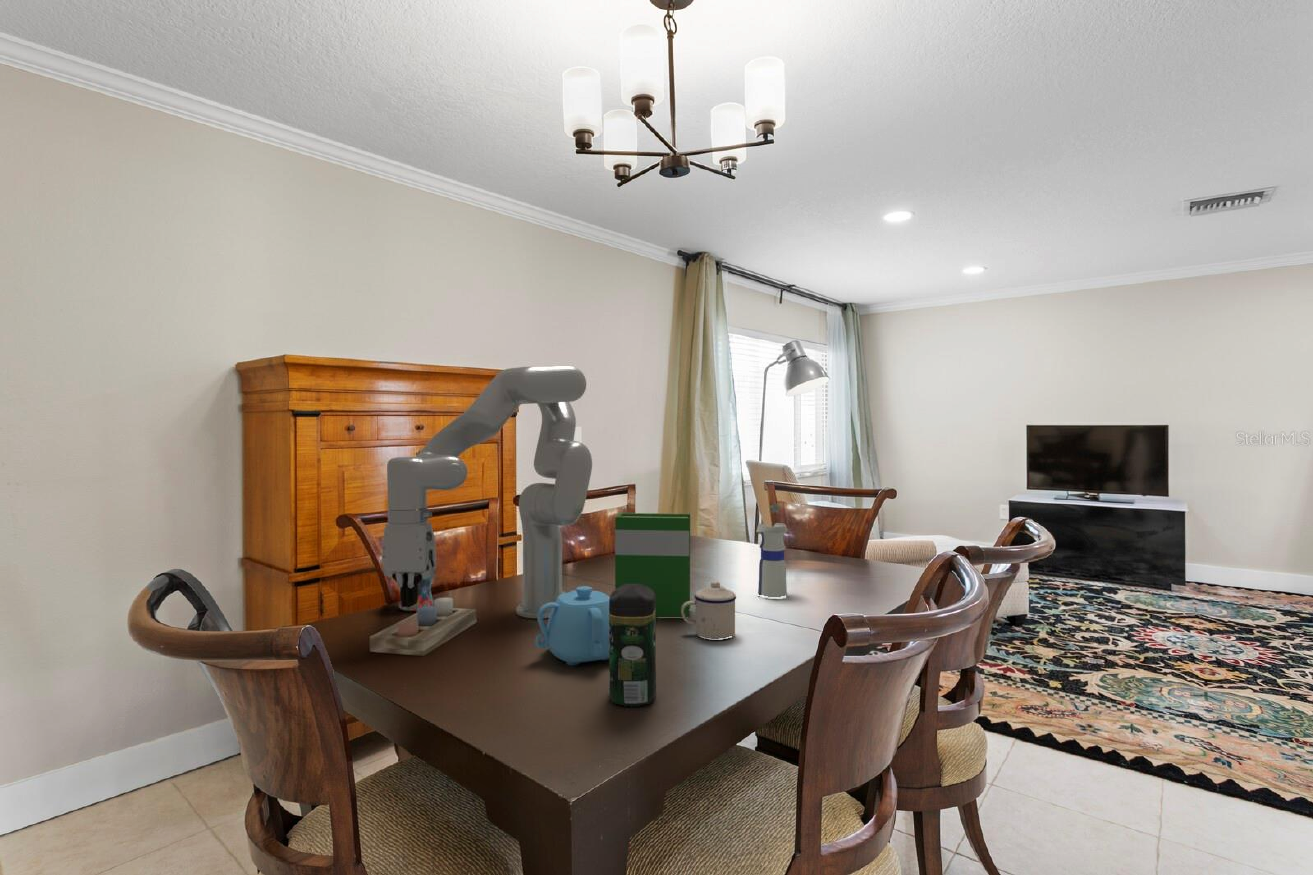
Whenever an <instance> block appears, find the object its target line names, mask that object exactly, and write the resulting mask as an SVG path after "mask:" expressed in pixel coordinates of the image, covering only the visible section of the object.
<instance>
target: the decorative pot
mask: <svg viewBox="0 0 1313 875" xmlns="http://www.w3.org/2000/svg"><path fill="white" fill-rule="evenodd" d="M609 599H610V595H608V594H606V593H604V592H602V591H598V590H593V587H591V586H588V585H581V586H577V587H575V589H574V590H570V591H569V592H566V593H564V594H561V595H560V596H558V598H557V600H556V602H555V603H554V602H550V603H547V604H545V605H543V606H542V607H541V608H540V609H539V611H538V619H537V622H538V625H539V627H540V628H539V629H540V630H541V633H539V634H538V635H536V637H535V640H534V642H535V645H536V647H537V648H540V649H545V648H548V649H549V651H550V652H551V654H552V655H553V656H554V657H556V658H557V659H559V660H561V661H564V662H565V664H566V665H568V666H577V665H579V664H580V663H586V662H593V661H594V662H595V661H607V660H606V659H609ZM549 608H553V609H552V611H551V613H550V616H549V618H547V624H546V625H545V621H544V618H543V613H544V612H545V611H546V610H547V609H549ZM541 638H543V639H544V640H543V641H540V639H541Z"/></svg>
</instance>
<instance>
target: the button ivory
mask: <svg viewBox="0 0 1313 875" xmlns="http://www.w3.org/2000/svg"><path fill="white" fill-rule="evenodd" d="M433 600H434V605H433V606H435V607H436V616H444V617H449V616H450V615H452V614H453V608H454V599H453V598H452V597H446V596H445V597H438V598H435V599H433Z"/></svg>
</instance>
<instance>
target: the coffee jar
mask: <svg viewBox="0 0 1313 875" xmlns="http://www.w3.org/2000/svg"><path fill="white" fill-rule="evenodd" d="M609 597H610V599H609V660H608V661H609V664H608V665H609V699H610V701H611V702H612V703H614V704H616V705H619V706H623V707H627V706H631V707H630V708H632V706H637V707H639V706H643V705H644V706H645V705H648V704H649V705H650V704H651V703H652V702H653V700H654V699H655V696H656V693H657V665H656V664H657V663H656V661H657V660H656V659H657V658H656V655H657V652H656V648H657V646H656V644H657V643H656V642H657V641H656V638H657V636H656V624H657V623H656V620H657V618H656V614H655V597H656V596H655V594H654V591H653V590H652V589H650V588H649V587H647V586H646V585H645V584H623V585H622V586H620V587H619V588H617V589H615V588H614V590H613V591H612V592H611V594H610V595H609Z"/></svg>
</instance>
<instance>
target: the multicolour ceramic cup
mask: <svg viewBox="0 0 1313 875" xmlns="http://www.w3.org/2000/svg"><path fill="white" fill-rule="evenodd" d="M433 572H434V576H432V577H430V578H427V579H423V580H422V581H421V582H420V584H419V585H418V600H417V603H416V604H415V605H413V606H411V607H402V606H401V600H400V601H399V603H398V609H400V610H402V611H405V612H417V608H419V607H423V606H434V600H435V599H434V598H433V596H432V590H431V589H432V586H431V585H432V584H433V582H434V581H435V580H434V579H435V576H436V567H435V568H433ZM423 573H424V572H423Z"/></svg>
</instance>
